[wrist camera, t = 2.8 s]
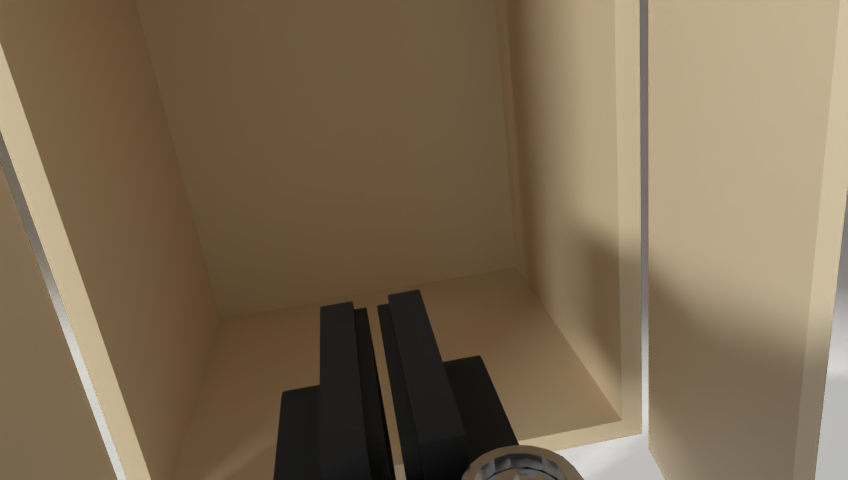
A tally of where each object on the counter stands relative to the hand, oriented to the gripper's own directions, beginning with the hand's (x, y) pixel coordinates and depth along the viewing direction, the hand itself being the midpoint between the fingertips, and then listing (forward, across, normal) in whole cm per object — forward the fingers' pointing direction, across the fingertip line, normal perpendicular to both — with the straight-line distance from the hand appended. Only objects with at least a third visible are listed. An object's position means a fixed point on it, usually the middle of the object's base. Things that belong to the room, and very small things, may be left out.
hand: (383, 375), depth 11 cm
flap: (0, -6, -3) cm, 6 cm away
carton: (+13, 0, -3) cm, 14 cm away
